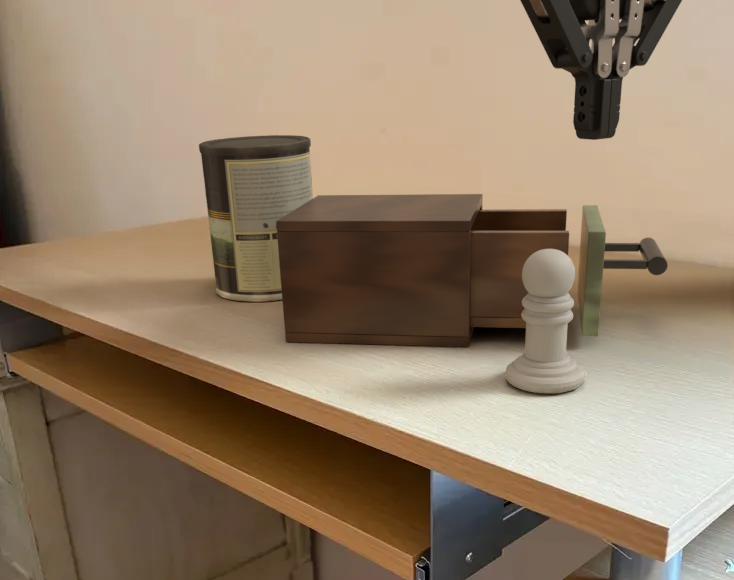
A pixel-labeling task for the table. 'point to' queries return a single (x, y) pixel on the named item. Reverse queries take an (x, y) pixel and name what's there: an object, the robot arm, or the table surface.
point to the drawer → (528, 235)
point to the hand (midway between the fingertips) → (595, 138)
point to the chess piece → (546, 326)
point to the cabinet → (378, 269)
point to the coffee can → (252, 208)
